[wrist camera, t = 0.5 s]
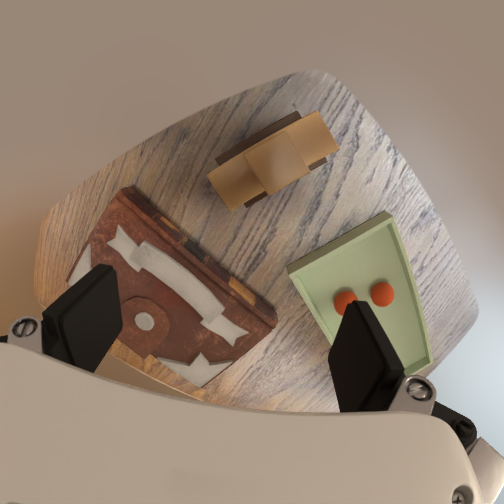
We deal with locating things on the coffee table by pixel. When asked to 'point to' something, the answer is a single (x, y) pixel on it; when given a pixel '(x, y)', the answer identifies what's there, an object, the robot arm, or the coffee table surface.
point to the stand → (258, 138)
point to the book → (172, 292)
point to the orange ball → (382, 294)
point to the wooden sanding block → (273, 161)
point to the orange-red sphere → (343, 301)
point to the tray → (367, 286)
